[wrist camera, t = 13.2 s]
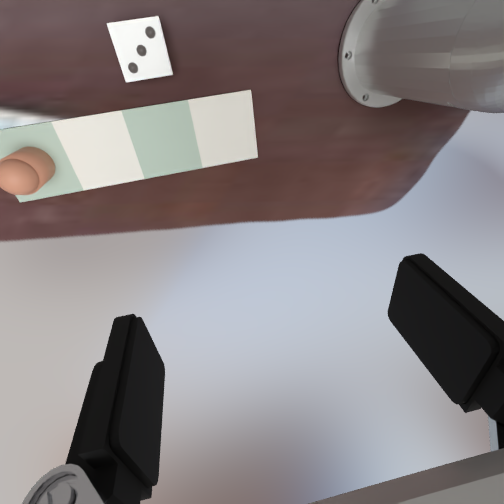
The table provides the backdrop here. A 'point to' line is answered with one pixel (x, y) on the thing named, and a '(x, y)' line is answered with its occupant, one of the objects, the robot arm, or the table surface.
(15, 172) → the pawn
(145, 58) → the die
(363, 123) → the table surface
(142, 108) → the board
